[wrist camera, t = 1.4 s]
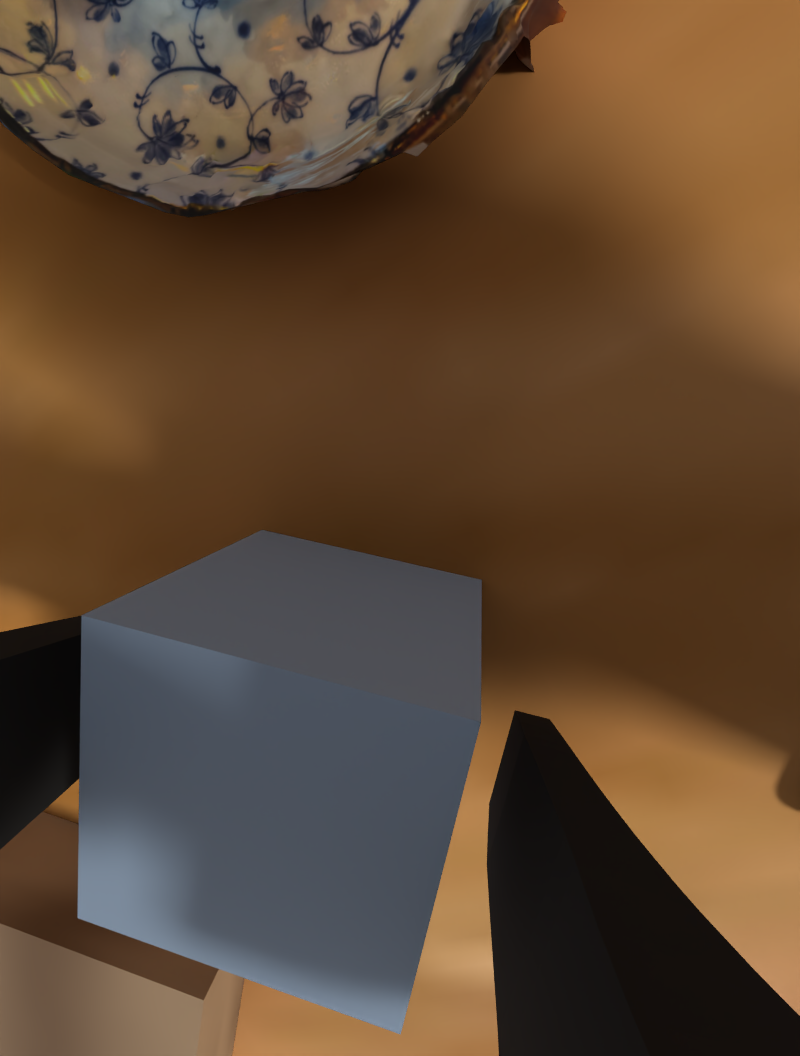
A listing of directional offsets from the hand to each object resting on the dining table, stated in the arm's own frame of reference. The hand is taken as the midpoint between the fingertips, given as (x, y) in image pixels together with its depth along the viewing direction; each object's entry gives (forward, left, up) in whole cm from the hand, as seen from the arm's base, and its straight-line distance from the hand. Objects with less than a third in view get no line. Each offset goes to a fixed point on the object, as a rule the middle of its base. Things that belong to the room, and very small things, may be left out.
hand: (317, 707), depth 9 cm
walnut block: (+5, +11, -2) cm, 12 cm away
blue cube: (0, 0, -2) cm, 2 cm away
